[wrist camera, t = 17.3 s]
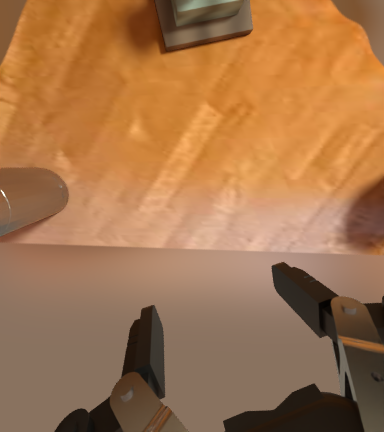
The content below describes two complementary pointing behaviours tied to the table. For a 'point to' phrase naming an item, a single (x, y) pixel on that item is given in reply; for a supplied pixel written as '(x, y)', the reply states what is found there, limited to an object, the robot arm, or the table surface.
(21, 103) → the table surface
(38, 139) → the table surface
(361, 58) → the table surface
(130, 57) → the table surface
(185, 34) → the cup holder
